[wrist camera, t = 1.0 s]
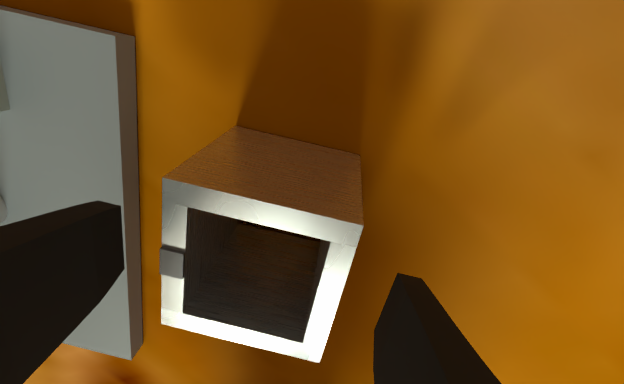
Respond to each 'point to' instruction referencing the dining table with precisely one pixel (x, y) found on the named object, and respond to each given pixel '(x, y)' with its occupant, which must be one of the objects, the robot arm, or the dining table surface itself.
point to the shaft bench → (74, 147)
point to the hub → (260, 240)
